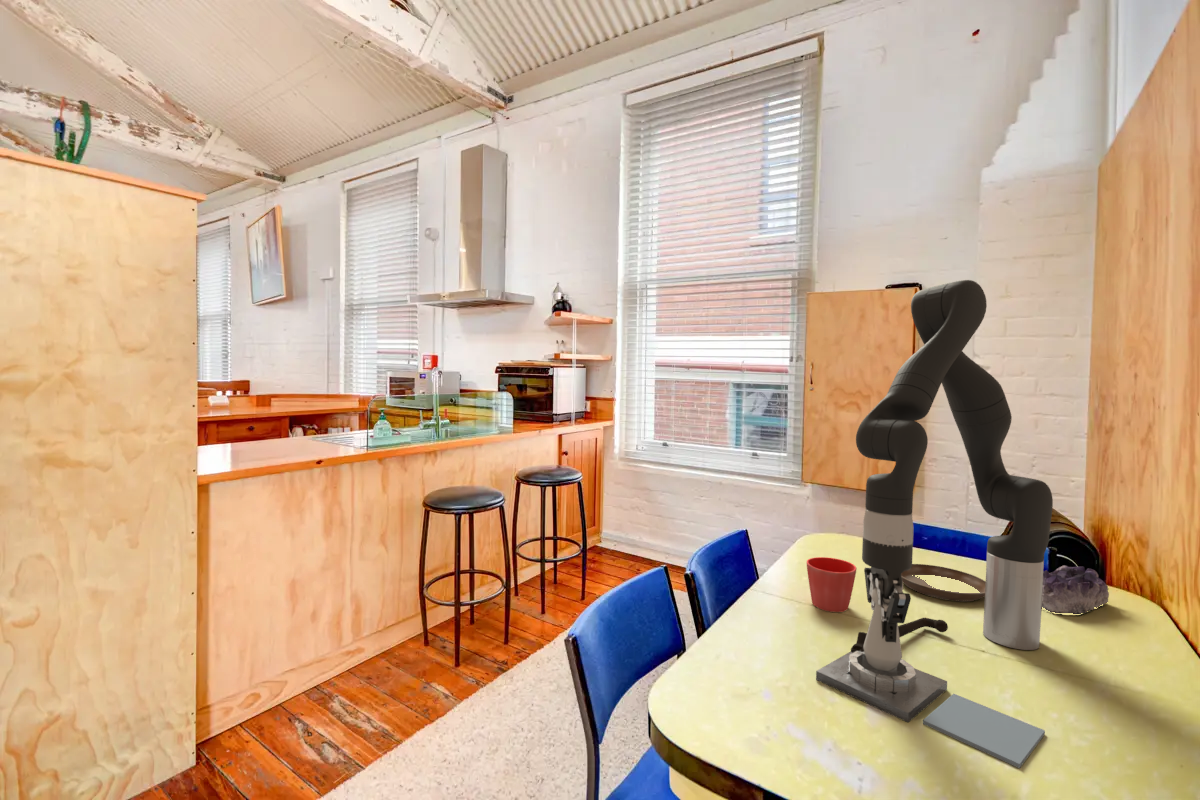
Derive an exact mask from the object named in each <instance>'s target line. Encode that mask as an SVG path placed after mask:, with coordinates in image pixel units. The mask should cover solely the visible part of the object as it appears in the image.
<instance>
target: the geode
mask: <svg viewBox="0 0 1200 800" xmlns="http://www.w3.org/2000/svg"><path fill="white" fill-rule="evenodd" d="M1109 596H1110V592H1109V588H1108V585H1107V584H1106V582H1105V581H1104V580H1102V579H1101V578H1100V577H1099V574H1098V572H1097V571H1096V570H1095V569H1092V568H1090V567H1089V568H1086V569H1085V566H1068V565H1062V566H1059V567H1058V568H1056V569H1055V570H1054V571H1052V572H1049V571H1048V570H1047V569H1046V570H1043V589H1042V607H1043V608H1045V609H1046V610H1048V611H1050V612H1055V613H1073V614H1081V613H1084V614H1087V613H1088V612H1087V611H1089V610H1093V609H1094V607H1096V608H1097V607H1099V606H1100V605H1102V604H1103V605H1104V604H1105V603H1107V602H1108V603H1109ZM1108 603H1107V604H1108ZM1105 605H1106V604H1105ZM1105 605H1104V606H1105ZM1094 610H1095V609H1094ZM1094 610H1093V611H1094ZM1086 612H1087V613H1086ZM1089 612H1090V611H1089Z"/></svg>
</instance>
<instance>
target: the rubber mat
mask: <svg viewBox="0 0 1200 800" xmlns="http://www.w3.org/2000/svg"><path fill="white" fill-rule="evenodd" d="M922 724H923V725H924V726H927V727H928V728H932V729H934V730H935V731H938V732H939V733H942V734H944V735H947V736H948V737H951V738H953V739H955V740H957V741H959V742H962V743H964V744H966V745H968V746H970V747H972V748H975V749H976V750H979V751H981V752H983V753H985V754H988V755H989V756H992V757H994V758H995V759H998V760H999V761H1003V762H1005V763H1006V764H1009V765H1011V766H1013V767H1015V768H1018V769H1020V768H1021V767H1022V766H1023V764H1024V763H1025V762H1026V761H1027V760H1028V757H1030V755H1031V754H1032V753H1033V751H1034V750H1035V749H1036V747H1037V746H1038V745H1039V743H1040V741H1041V740H1042V739H1043V737H1044V736H1045V735H1046V730H1045V729H1043V728H1040V727H1037V726H1035V725H1033V724H1030V723H1028V722H1025V721H1022V720H1020V719H1018V718H1015V717H1013V716H1010V715H1008V714H1006V713H1003V712H1000V711H998V710H996V709H993V708H990V707H988V706H986V705H984V704H981V703H979V702H975V701H974V700H971V699H968V698H965V697H963V696H960V695H958V694H956V693H953V694H951V695H950V696H949V697H948V698H947V699H945V700H944V701H943V702H942V703H941V704H940V705H938V706H937V708H935V709H934V710H932V712H930V713H929V714H928V715H927V716H926V717H924V719H922Z"/></svg>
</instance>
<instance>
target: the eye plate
mask: <svg viewBox="0 0 1200 800" xmlns="http://www.w3.org/2000/svg"><path fill="white" fill-rule="evenodd" d="M815 680H816V681H818V682H820V683H822V684H825V685H827V686H829V687H831V688H834V689H836V690H837V691H840V692H842V693H845V695H848V696H851V697H853V698H854V699H856V700H859V701H861V702H864V703H865V704H868V705H870V706H872V707H874V708H877V709H878V710H880V711H883V712H884V713H887V714H889V715H891V716H894V717H896V718H897V719H899V720H902V721H904V722H906V723H909V722H911V721H912V720H913V719H914V718H916V717H917V716H918V715H919V714H920V713H921V712H923V711H924V710H925V709H926V708H927V707H928V706H930V705H931V704H932V703H933V702H934V701H936V700H937V699H938V698H939V697H940V696H942V695H943V694H944V693H945V692H947V690H948V680H946V679H943V678H940V677H937V676H935V675H933V674H930V673H928V672H925V671H922V670H920V669H917V668H915V667H914V666H913V665H912V664H910V663H909V662H907V661H906V660H905V659H903V658H901V660H900V662H899V663H898V665H897V667H896V668H895V669H893V670H891V671H884V670H879V669H876V668H874V667H873V666H871V665H870V664H868V661H867V658H866V655H865V652H859V651H855V652H854V653H852V652H851V650H850V651H849V652H847V653H845V654H843V655H842V656H840V657H838V658H836V659H834V660H833V661H831V662H829V663H828V664H826V665H824V666H822V667H821V668H819V669H817V670H816V672H815Z"/></svg>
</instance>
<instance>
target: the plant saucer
mask: <svg viewBox="0 0 1200 800" xmlns="http://www.w3.org/2000/svg"><path fill="white" fill-rule="evenodd" d="M912 575H913V576H912ZM915 575H935V576H941V577H947V578H951V579H955V580H959V581H961V582H964V583H966V584H968V585H970V586H972V587H974V588H975V589H977V590H978V591H979V592H980V593H959V592H951V591H945V590H940V589H936V588H934V587H933V588H932V586H930V585H928V584H927V583H926V582H925V581H926V580H925V581H924V580H922V579H920V577H919V578H917V577H918V576H917V577H915ZM901 576H902V581H903V585H905V586H906V587H907V588H909V589H911V590H912V589H913V590H912V591H914V590H915V592H916V591H917V592H916V593H919V594H921V593H922V595H924V594H925V596H927V595H928V597H931V596H932V598H935V597H936V598H935V599H939V598H941V600H944V599H946V600H945V601H950V600H953V601H952V602H973V601H974V600H975V601H977V600H980V599H982V598H985V584H986V580H985V579H982V578H980V577H978V576H976V575H973V574H971V573H968V572H965V571H962V570H958V569H954V568H950V567H949V568H948V567H943V566H938V565H932V564H925V563H924V564H922V563H912V567H911V569H909V570H907V571H904V572H902V573H901Z"/></svg>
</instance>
